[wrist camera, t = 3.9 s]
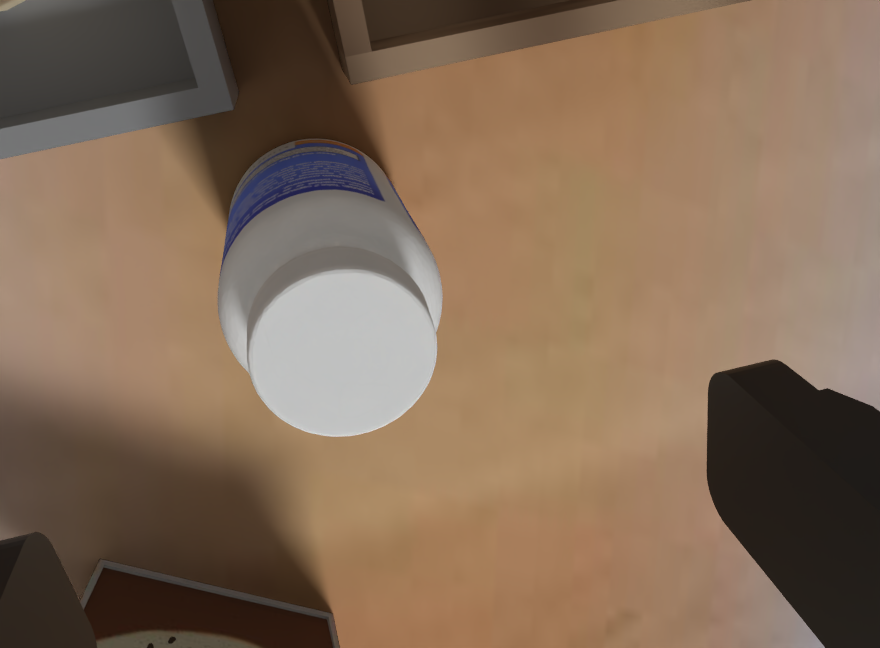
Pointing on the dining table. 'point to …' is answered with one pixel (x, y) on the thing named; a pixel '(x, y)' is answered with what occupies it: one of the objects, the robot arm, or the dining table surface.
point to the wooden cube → (9, 4)
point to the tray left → (107, 69)
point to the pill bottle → (328, 290)
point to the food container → (194, 614)
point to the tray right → (475, 28)
